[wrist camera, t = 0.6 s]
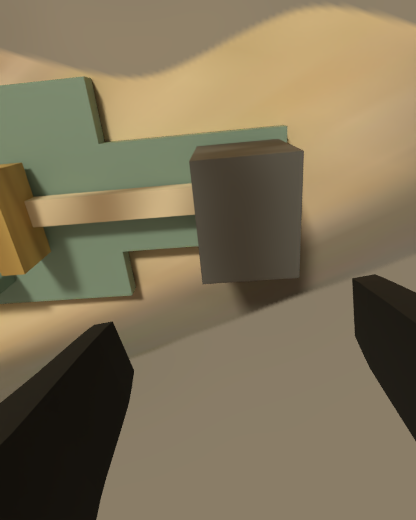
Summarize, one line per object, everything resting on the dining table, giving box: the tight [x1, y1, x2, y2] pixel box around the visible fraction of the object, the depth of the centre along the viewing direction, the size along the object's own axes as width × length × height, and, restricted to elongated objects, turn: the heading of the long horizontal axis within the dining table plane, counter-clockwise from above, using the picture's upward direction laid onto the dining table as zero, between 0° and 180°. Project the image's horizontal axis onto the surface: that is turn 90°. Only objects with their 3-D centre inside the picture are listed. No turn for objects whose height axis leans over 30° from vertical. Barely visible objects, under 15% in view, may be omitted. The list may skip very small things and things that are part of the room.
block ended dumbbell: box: [0, 139, 304, 284], centre depth 15 cm, size 14×5×5 cm, turn 95°
